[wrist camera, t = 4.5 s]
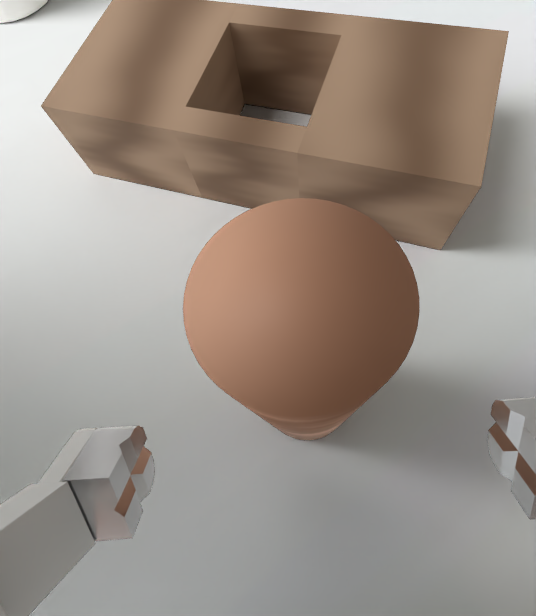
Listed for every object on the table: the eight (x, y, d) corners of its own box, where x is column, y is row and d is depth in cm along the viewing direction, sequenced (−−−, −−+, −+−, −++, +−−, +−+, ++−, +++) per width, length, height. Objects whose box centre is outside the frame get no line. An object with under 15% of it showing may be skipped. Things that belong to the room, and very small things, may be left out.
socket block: (93, 173, 24) (40, 105, 19) (152, 72, 27) (118, -9, 22) (440, 249, 19) (481, 186, 15) (467, 119, 22) (508, 31, 18)
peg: (251, 423, 17) (145, 372, 6) (278, 342, 19) (229, 180, 8) (336, 452, 17) (390, 454, 5) (358, 366, 18) (439, 223, 7)
